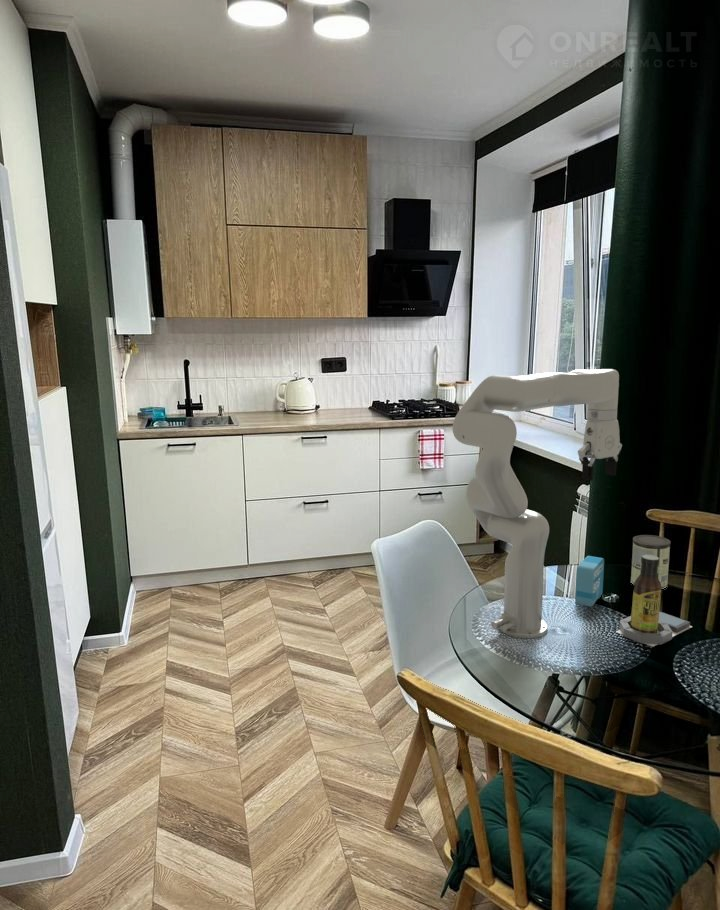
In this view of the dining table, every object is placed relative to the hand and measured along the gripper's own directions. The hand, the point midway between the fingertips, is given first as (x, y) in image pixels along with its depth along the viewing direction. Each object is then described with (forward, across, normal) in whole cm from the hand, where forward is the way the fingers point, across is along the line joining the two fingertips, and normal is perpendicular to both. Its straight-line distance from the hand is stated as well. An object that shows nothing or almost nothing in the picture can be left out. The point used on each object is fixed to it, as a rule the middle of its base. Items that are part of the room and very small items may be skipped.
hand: (599, 477), depth 177 cm
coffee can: (+36, +24, -2) cm, 44 cm away
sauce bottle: (+35, -9, -22) cm, 42 cm away
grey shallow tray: (+36, -4, -22) cm, 42 cm away
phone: (+35, +1, -22) cm, 41 cm away
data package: (+36, -1, 0) cm, 36 cm away
